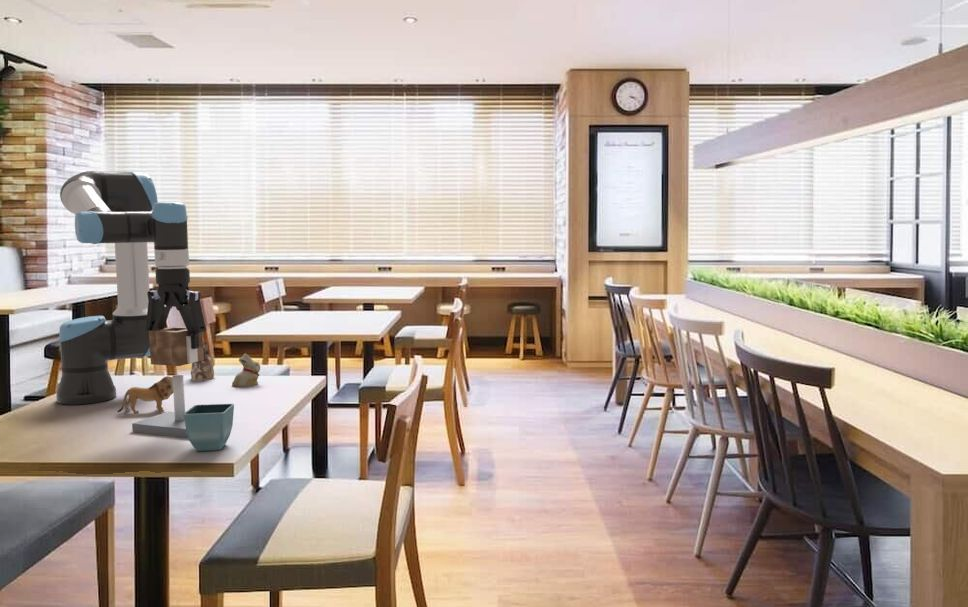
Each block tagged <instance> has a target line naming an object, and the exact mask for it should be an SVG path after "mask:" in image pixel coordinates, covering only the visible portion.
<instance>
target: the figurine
mask: <svg viewBox="0 0 968 607" xmlns="http://www.w3.org/2000/svg"><path fill="white" fill-rule="evenodd" d="M207 343H208V341H207V340H203V353H204V360H201V361H198V362H194V363H191V370H190V377H191V378H190V379H191V380H192V381H208V380H212V379H213V378H214V377H215V371H214V370H215V369H214V365H213V361H212V358H211V357H210V350H209V348H208V347H207Z"/></svg>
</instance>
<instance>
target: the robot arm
mask: <svg viewBox="0 0 968 607" xmlns="http://www.w3.org/2000/svg"><path fill="white" fill-rule="evenodd" d="M157 194H158V193H157V191H156V187H155V184H154V181H153V179H152V178H151V176H150V175H149V174H147V173H143V172H134V171H106V170H105V171H98V170H89V171H82V172H79V173H77V174H75V175H73V176H71V177H69V178H68V179H67V180H66V181H65V182H64V183H63V184H62V186H61V187H60V193H59V196H60V197H59V198H60V201H61V203H62V205H63V207H64V208H65V209H66V210H67V211H68V212H70V213H71V214H73V215H74V231H75V237H76V240H77V242H79V243H81V244H93V245H97V244H98V245H99V244H114V252H115V253H114V255H115V272H116V273H115V274H116V290H117V292H116V293H117V294H116V295H117V308H116V309H115V310H114V311H113V312H112V319H109V320H108V319H106V318H105V316H104V315H91V316H85V317H79V318H75V319H70V320H68V321H65V322H63V323H62V324H61V325H60V326H59V334H58V335H59V336H58V337H59V338H58V342H59V345H60V347H59V348H60V349H59V350H60V362H61V376H60V381H59V385H58V390H57V392H56V396H55V397H56V403H57V404H60V405H67V406H68V405H75V406H77V405H87V404H96V403H101V402H102V403H103V402H106V401H109V400H112V399H115V398H116V397H117V389H116V388H117V387H116V386H115V384H114V382H113V379H112V377H111V374H110V372H109V365H108V364H109V363H108V362H109V361H116V360H123V359H124V360H125V359H133V358H134V359H135V358H142V359H143V358H145V357H150V342H149V331H152V330H158V329H163V328H166V327H165V326H166V323H167V321H168V317H169V314H170V313H171V312H170V311H171V309H172V308H174V307H175V308H176V310H177V311H178V312H179V314H180V316H181V320H183V323H184V327H186V328H187V331H188V333H189V334H188V335H187V336H186V343H187V362H188V363H190V364H192V363H193V362H197V361H198V354H197V348H199V334H200V333H202V334H203V333H205V332H206V331H207V328H206V323H205V318H204V314H203V310H202V309H203V308H202V304H201V292H200V291H198V290H197V291H194V290H193V291H192V290H190V287H189V285H190V282H191V276H190V269H189V268H188V266H189V265H190V256H189V255H190V254H189V236H188V234H189V233H188V214H187V207H186V205H185V203H182V202H175V201H173V202H171V201H169V202H166V201H165V202H164V201H163V202H159V200H158V195H157ZM148 243H153V245H154V246H153V247H154V249H153V250H154V263H155V267H157V268H156V269H155V271H154V272H155V283H156V285H158V287H157V290H150V274H149V256H148V255H149V254H148V251H149V250H148Z"/></svg>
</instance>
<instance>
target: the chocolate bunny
mask: <svg viewBox="0 0 968 607" xmlns="http://www.w3.org/2000/svg"><path fill="white" fill-rule="evenodd" d="M238 361H239V363H240V364H241V365H242V366H243V367H242V371H240V372H238V373H237V374H236V375H235V377H234V379H233V381H232V382H231V386H232V387H239V388H240V387H251V386H256V385H258V384H259V382H258V378H259V376H260V374H259V372H261V371H260V370H261V365H260V363H259V362H258V361H255V360H254V359H252V358H251V357H250V355H249V354H247V353H244V354H243V355H242V356H241V357H239V358H238Z"/></svg>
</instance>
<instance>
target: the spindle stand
mask: <svg viewBox="0 0 968 607" xmlns="http://www.w3.org/2000/svg"><path fill="white" fill-rule="evenodd" d="M172 377H173V408H174V410H173V411H166V412H161V413H160V414H156V415H154V416H150V417H148V418H144V419H142V420H138V421H136V422H132V423H131V427H132V428H131V430H132V432H134V433H142V434H153V435H161V436H162V435H163V436H170V437H171V436H172V437H178V438H179V437H180V438H182V437H183V438H188V436H187V432H186V427H185V422H184V416H183V414H184V413H185V412H186V404H185V400H186V398H185V383H184V381H185V380H184V375H183V374H175V375H172Z"/></svg>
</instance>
